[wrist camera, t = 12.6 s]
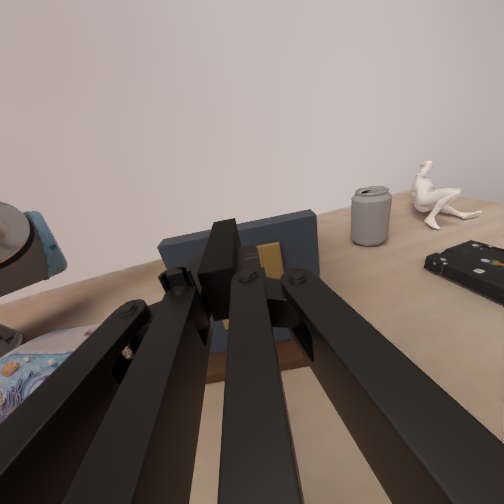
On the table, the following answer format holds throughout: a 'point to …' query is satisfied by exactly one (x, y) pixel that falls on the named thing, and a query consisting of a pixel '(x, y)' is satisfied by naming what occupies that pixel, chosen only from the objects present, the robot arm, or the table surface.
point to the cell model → (36, 363)
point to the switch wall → (273, 266)
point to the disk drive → (472, 268)
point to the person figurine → (435, 198)
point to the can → (370, 215)
